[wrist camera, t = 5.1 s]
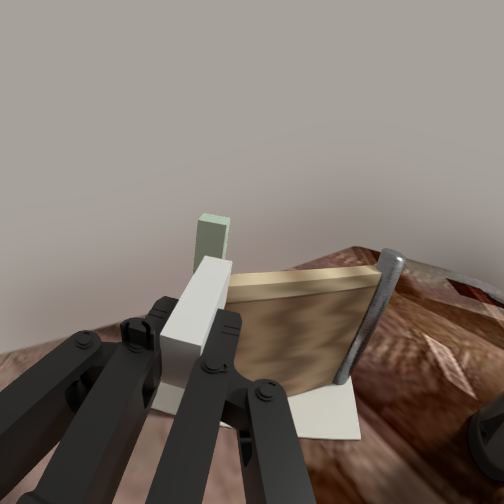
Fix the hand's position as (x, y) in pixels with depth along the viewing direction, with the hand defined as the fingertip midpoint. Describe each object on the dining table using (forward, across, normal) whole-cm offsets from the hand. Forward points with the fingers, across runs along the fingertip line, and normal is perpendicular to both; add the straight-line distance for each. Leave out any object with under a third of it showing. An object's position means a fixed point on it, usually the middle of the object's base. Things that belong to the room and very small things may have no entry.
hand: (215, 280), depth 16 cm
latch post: (+15, -3, -20) cm, 25 cm away
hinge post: (+13, +16, -20) cm, 29 cm away
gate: (+8, +6, -19) cm, 22 cm away
